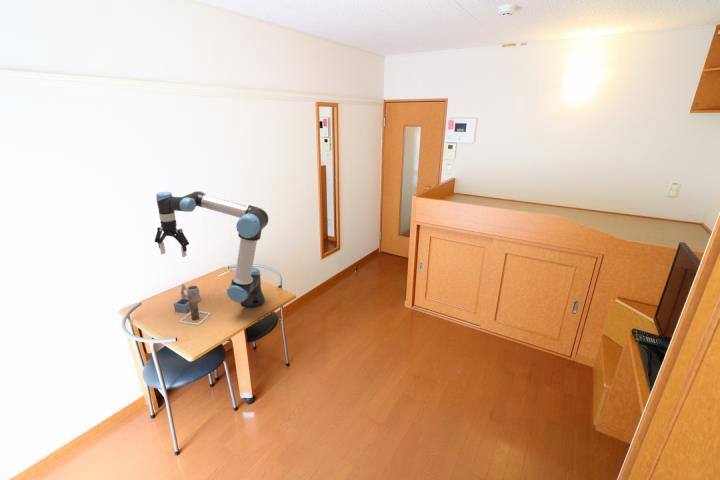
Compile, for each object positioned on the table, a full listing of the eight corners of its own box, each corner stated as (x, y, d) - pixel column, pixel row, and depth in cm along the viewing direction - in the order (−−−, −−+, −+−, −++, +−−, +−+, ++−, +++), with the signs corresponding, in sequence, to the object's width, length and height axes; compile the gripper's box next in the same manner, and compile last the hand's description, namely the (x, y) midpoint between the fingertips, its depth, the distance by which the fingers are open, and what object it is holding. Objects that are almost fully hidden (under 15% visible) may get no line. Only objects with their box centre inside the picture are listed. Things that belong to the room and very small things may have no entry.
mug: (197, 304, 207) (195, 287, 203) (178, 303, 207) (175, 286, 203) (203, 298, 214) (201, 282, 210) (185, 297, 214) (182, 281, 210)
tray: (211, 315, 197) (211, 313, 197) (198, 327, 186) (198, 324, 186) (193, 312, 199) (192, 310, 199) (179, 324, 188) (179, 321, 187)
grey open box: (194, 307, 204) (193, 299, 202) (186, 314, 197) (185, 305, 195) (183, 306, 205) (182, 297, 203) (175, 312, 198) (173, 304, 196)
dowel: (200, 317, 194) (197, 293, 188) (196, 321, 190) (192, 296, 185) (194, 316, 195) (191, 292, 189) (190, 320, 191) (186, 295, 185)
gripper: (192, 220, 186) (197, 254, 194) (153, 215, 190) (159, 250, 197) (183, 224, 179) (189, 260, 187) (143, 219, 183) (149, 255, 190)
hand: (173, 255), depth 192 cm, fingers open, 13 cm apart
